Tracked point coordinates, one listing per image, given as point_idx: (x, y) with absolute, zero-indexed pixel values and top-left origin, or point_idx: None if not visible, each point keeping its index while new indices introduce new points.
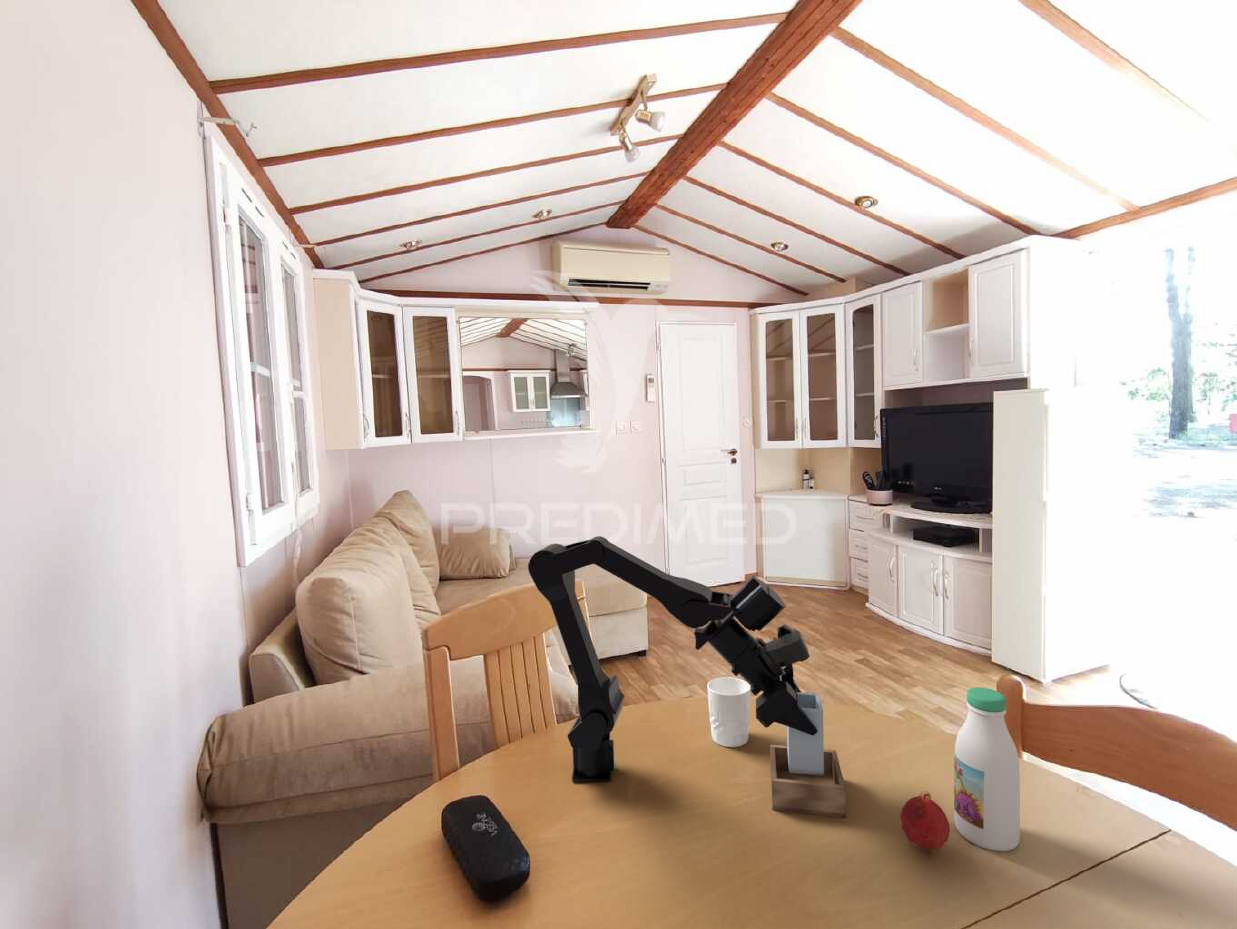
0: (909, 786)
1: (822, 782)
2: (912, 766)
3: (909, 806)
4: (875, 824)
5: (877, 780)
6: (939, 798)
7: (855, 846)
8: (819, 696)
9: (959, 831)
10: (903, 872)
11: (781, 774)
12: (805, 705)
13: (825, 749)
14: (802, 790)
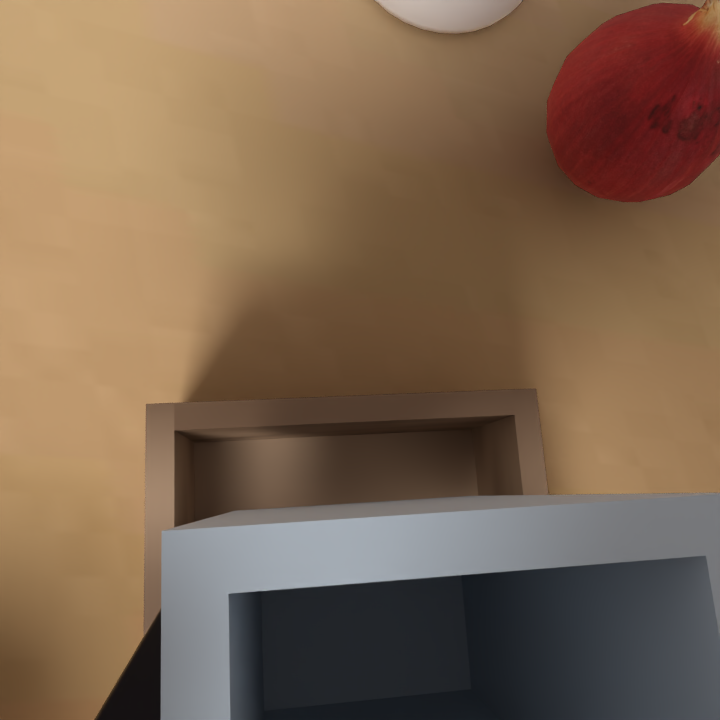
0: (190, 120)
1: (268, 495)
2: (15, 68)
3: (707, 121)
4: (492, 301)
5: (166, 239)
6: (257, 34)
7: (642, 392)
8: (266, 524)
9: (475, 28)
10: (715, 256)
11: None
12: (244, 708)
13: (145, 468)
14: None
